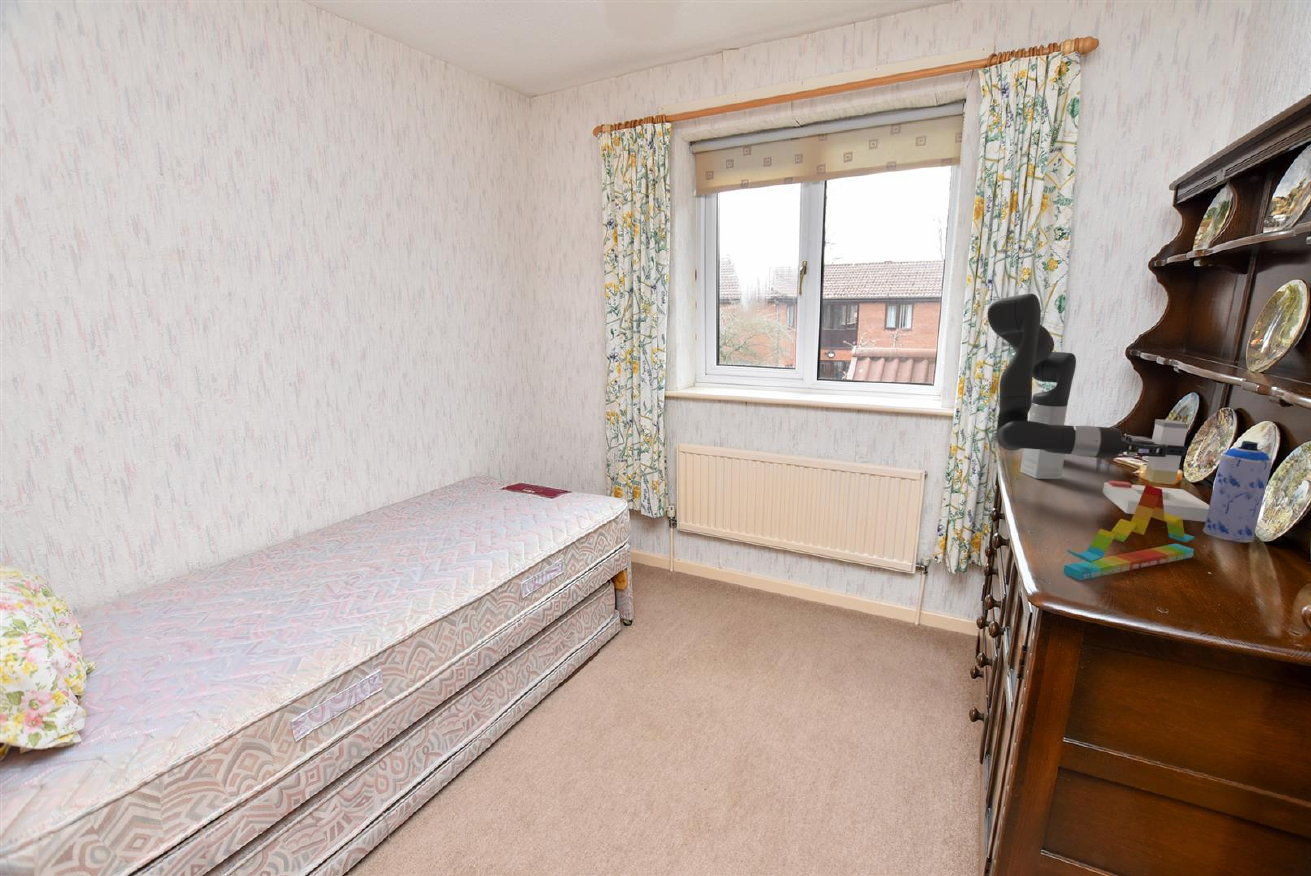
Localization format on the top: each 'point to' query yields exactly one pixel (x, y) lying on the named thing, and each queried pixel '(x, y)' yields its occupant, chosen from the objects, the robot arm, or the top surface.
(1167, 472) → the tall white box
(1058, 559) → the top surface
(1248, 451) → the aerosol can
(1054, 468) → the supplement box
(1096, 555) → the chart
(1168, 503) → the socket
